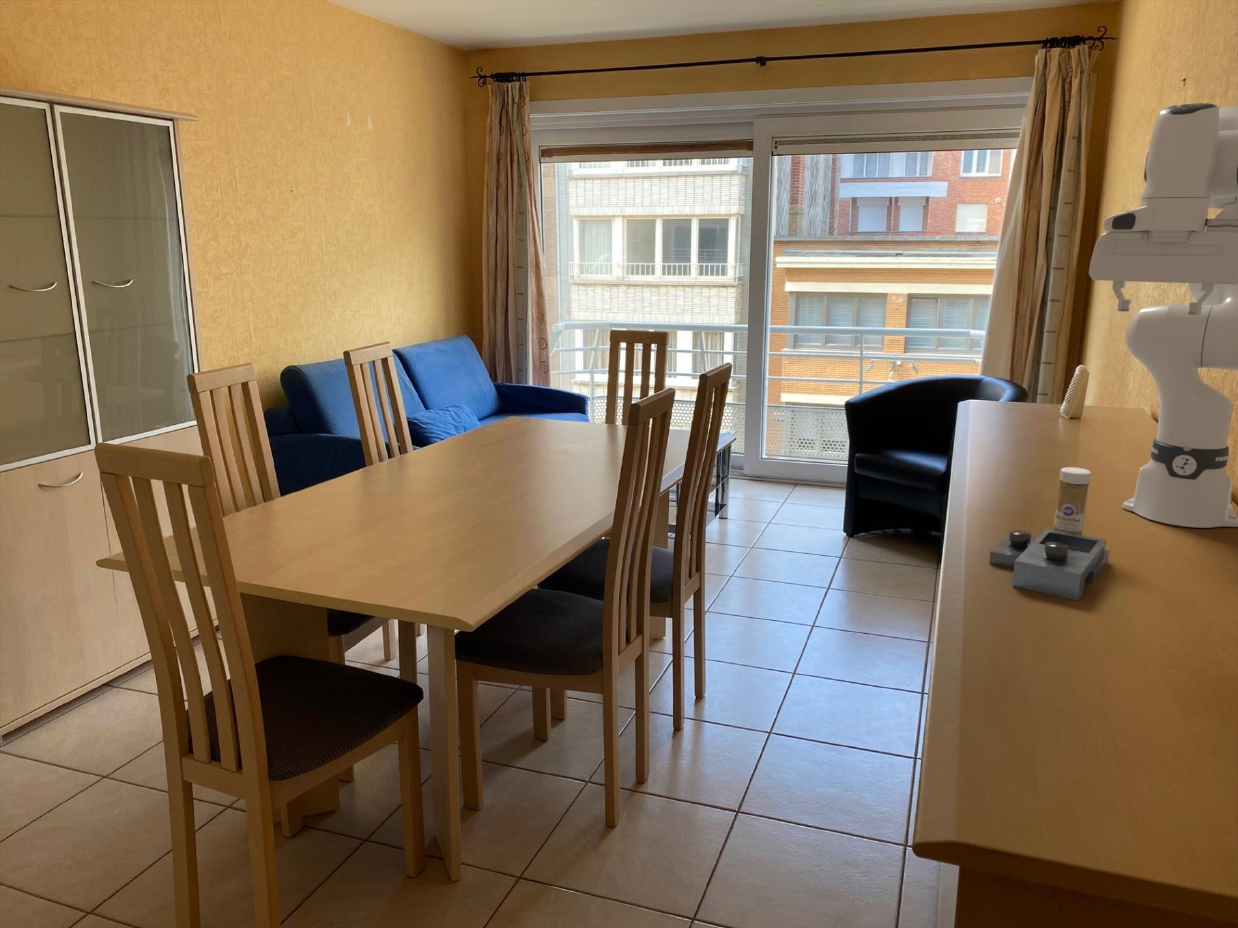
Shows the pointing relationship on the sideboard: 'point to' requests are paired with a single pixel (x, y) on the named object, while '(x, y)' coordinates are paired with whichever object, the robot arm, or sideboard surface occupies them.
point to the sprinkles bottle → (1072, 500)
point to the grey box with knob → (1057, 563)
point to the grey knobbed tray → (1021, 541)
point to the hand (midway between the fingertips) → (1158, 313)
